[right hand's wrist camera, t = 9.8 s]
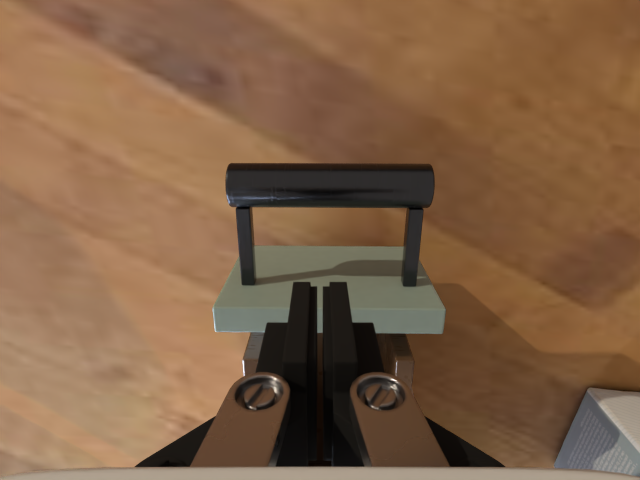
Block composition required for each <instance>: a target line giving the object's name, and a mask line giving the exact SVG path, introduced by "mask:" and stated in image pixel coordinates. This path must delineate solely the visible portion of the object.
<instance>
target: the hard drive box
mask: <svg viewBox="0 0 640 480" xmlns="http://www.w3.org/2000/svg"><path fill="white" fill-rule="evenodd" d="M554 467H555V468H563V469H589V470H599V471H608V472H617V473H623V474H628V475H633V476H638V477H640V392H632V391H630V392H628V391H617V390H608V389H599V388H588V389H587V391H586V394H585V396H584V398H583V400H582V403H581V405H580V407H579V409H578V412H577V414H576V416H575V418H574V420H573V422H572V425H571V427H570V429H569V431H568V434H567V436H566V438H565V440H564V443H563V445H562V447H561V450H560V452H559V454H558V456H557V459H556V461H555V463H554Z"/></svg>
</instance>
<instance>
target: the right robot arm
mask: <svg viewBox="0 0 640 480" xmlns="http://www.w3.org/2000/svg"><path fill="white" fill-rule="evenodd" d="M308 461H317V286H311V282H293V287H292V294H291V302H290V309H289V316H288V322H268V323H267V324H266V328H265V332H264V337H263V341H262V345H261V350H260V354H259V358H258V363H257V367H256V372H255V373H253V374H249V375H246V376H244V377H242V378H240V379H239V380H238V381H236V382H235V383H234V384H233V385H232V387H231V388H230V390H229V392H228V394H227V395H226V397H225V399H224V401H223V403H222V405H221V407H220V409H219V411H218V413H217V415H216V416H215V417H213V418H212V419H210V420H208V421H207V422H205V423H203V424H202V425H200V426H199V427H197V428H195V429H194V430H192V431H190V432H189V433H187V434H186V435H184V436H182V437H181V438H179V439H177V440H176V441H174V442H173V443H171V444H169V445H168V446H166V447H164V448H163V449H161V450H159V451H158V452H156V453H155V454H153V455H151V456H150V457H148V458H146V459H145V460H143V461H142V462H140V463H139V464H138V465H136V466H135V467H103V468H77V469H51V470H41V471H32V472H23V473H17V474H12V475H7V476H2V477H0V480H640V477H638V476H633V475H628V474H623V473H617V472H608V471H599V470H589V469H563V468H537V467H505V466H504V465H502V464H501V463H500V462H498V461H497V460H495V459H494V458H492V457H490V456H489V455H487V454H485V453H484V452H482V451H481V450H479V449H477V448H476V447H474V446H472V445H471V444H469V443H467V442H466V441H464V440H463V439H461V438H459V437H458V436H456V435H454V434H453V433H451V432H450V431H448V430H446V429H445V428H443V427H441V426H440V425H438V424H437V423H435V422H433V421H432V420H430V419H428V418H427V417H425V416H424V415H423V413H422V411H421V409H420V407H419V405H418V403H417V401H416V399H415V397H414V395H413V394H412V392H411V390H410V388H409V387H408V385H407V384H406V383H405V382H404V381H402V380H401V379H400V378H398V377H396V376H394V375H391V374H387V373H385V372H384V367H383V363H382V358H381V354H380V350H379V345H378V341H377V337H376V332H375V328H374V324H373V323H372V322H352V316H351V309H350V302H349V294H348V287H347V282H329V286H323V461H332V467H308Z"/></svg>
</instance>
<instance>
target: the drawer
mask: <svg viewBox="0 0 640 480" xmlns="http://www.w3.org/2000/svg"><path fill="white" fill-rule="evenodd" d="M434 187H435V179H434V171H433V168H432V166H431V165H430V164H329V163H231V164H229V165H228V168H227V171H226V195H227V200H228V203H229V205H230V206H231V207H237V208H236V219H237V232H238V245H239V257H238V259H237V261H236V263H235V265H234V267H233V269H232V271H231V273H230V275H229V277H228V279H227V281H226V283H225V285H224V286H223V288H222V290H221V292H220V294H219V296H218V298H217V300H216V302H215V304H214V306H213V317H214V327H215V331H216V332H251V334H250V337H249V340H248V344H247V347H246V350H245V353H244V357H243V371H244V376H246V375H249V374H253V373H255V372H256V367H257V363H258V358H259V354H260V350H261V345H262V341H263V337H264V332H265V328H266V324H267V323H268V322H288V316H289V309H290V302H291V294H292V287H293V282H311V286H317V461H308V467H332V461H323V286H329V282H347V287H348V294H349V302H350V309H351V316H352V322H372V323H373V324H374V328H375V332H376V337H377V341H378V345H379V350H380V354H381V358H382V363H383V367H384V372H385V373H387V374H391V375H394V376H396V377H398V378H400V379H401V380H402V381H404V382H405V383H406V384H407V385H408V387H409V388H410V390H412V380H413V370H414V359H413V356H412V352H411V349H410V346H409V343H408V340H407V337H406V334H442V333H443V330H444V322H445V314H446V309H445V307H444V305H443V303H442V301H441V299H440V297H439V296H438V294H437V292H436V290H435V288H434V286H433V285H432V283H431V281H430V279H429V277H428V275H427V274H426V272H425V270H424V268H423V266H422V264H421V262H420V261H419V252H420V241H421V231H422V220H423V208H428V207H430V205H431V203H432V200H433V196H434ZM252 207H318V208H407V210H406V223H405V235H404V247H396V246H254V230H253V214H252Z"/></svg>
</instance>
